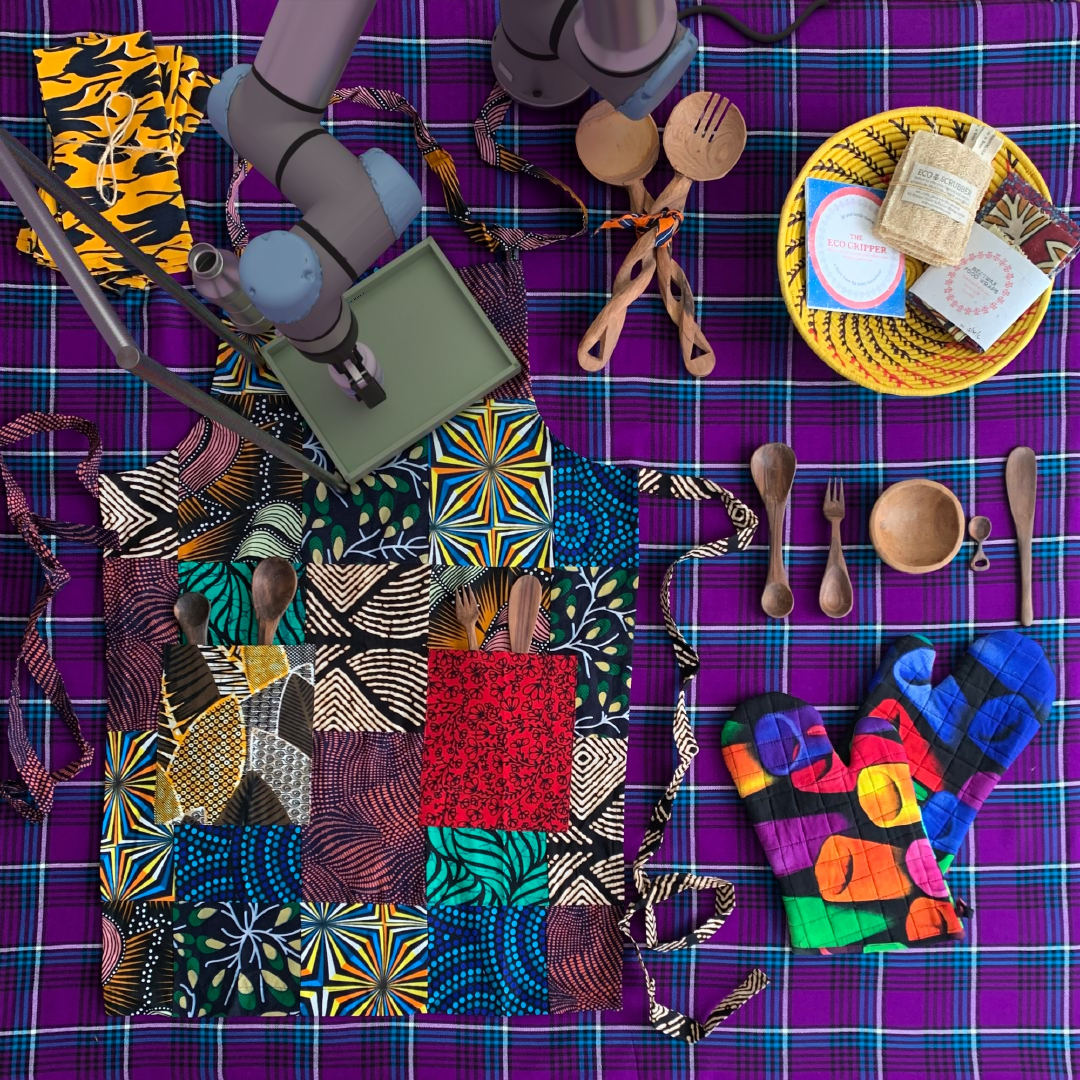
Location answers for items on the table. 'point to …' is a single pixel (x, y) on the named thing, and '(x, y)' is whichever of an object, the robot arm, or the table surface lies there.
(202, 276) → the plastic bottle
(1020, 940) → the table surface
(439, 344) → the platform cart
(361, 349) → the pill bottle
